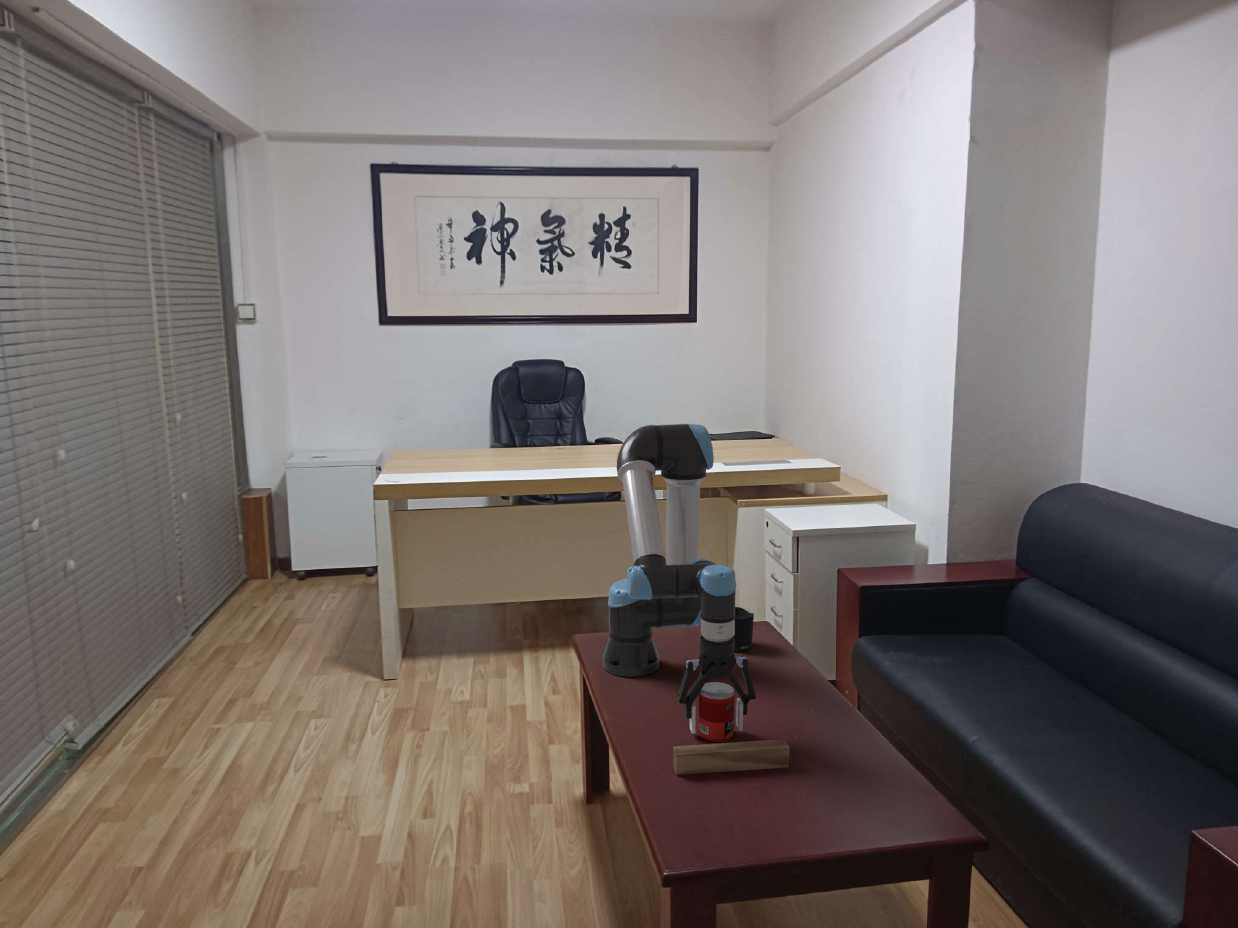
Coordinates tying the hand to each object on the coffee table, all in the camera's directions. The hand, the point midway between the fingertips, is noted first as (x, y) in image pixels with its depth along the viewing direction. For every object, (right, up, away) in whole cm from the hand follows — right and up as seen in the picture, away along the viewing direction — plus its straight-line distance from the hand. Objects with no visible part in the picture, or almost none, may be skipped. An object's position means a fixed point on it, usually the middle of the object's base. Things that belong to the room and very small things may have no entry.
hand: (716, 729), depth 201 cm
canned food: (0, -1, 0) cm, 1 cm away
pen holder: (+11, +8, +50) cm, 52 cm away
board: (+2, -4, -13) cm, 14 cm away
